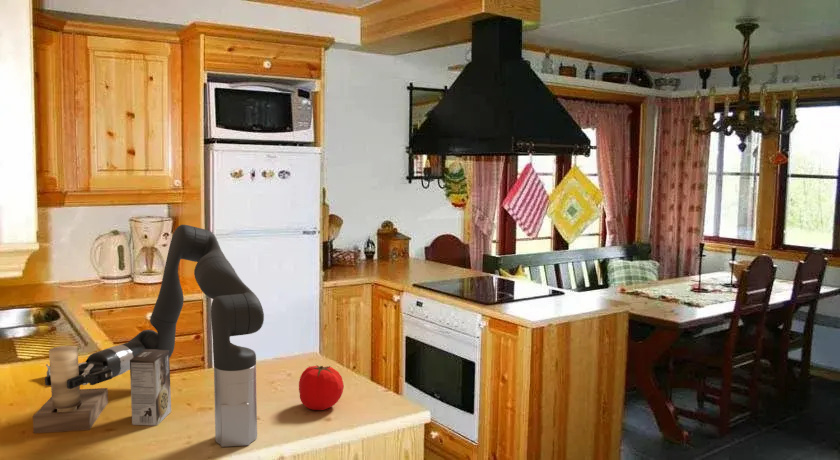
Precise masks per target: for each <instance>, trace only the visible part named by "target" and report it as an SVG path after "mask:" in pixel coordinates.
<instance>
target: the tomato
mask: <svg viewBox="0 0 840 460" xmlns="http://www.w3.org/2000/svg"><path fill="white" fill-rule="evenodd" d="M298 392H299V393H298V394H299V400H300V402H301V404H302V405H303V406H305V407H306V408H307V409H309V410H314V411H323V410H327V409H330V408H332V407H333V406H334V405H336V404H337V403H339V401H340V399H341V398H342V395H343V392H344V381H343V377H342V375H341V374H340V372H339V371H337V370H336V369H335V368H334V367H332V366H331V365H329V366H323V365H320V366H319V365H311V366H310V365H308V366H307V368H305V369H304V371H302V373H301V375H300V377H299V382H298Z"/></svg>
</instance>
